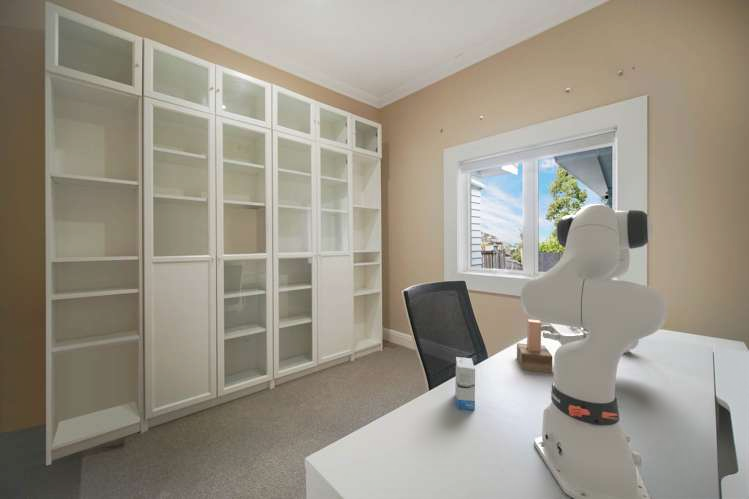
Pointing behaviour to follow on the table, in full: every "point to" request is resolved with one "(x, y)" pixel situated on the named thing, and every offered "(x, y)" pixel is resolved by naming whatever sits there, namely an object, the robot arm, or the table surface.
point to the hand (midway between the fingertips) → (540, 331)
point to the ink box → (465, 383)
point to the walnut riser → (534, 359)
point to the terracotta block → (534, 335)
